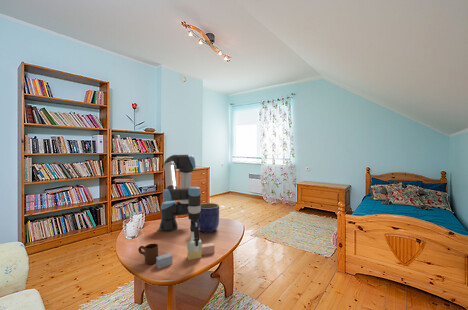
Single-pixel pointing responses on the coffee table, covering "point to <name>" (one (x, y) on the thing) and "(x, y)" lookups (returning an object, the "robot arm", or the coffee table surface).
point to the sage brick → (191, 245)
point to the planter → (209, 217)
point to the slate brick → (164, 260)
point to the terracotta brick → (207, 248)
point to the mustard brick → (194, 254)
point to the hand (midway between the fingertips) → (194, 246)
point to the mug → (149, 253)
